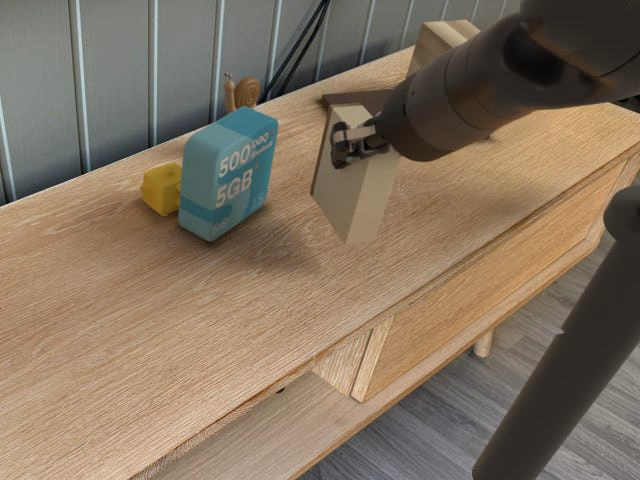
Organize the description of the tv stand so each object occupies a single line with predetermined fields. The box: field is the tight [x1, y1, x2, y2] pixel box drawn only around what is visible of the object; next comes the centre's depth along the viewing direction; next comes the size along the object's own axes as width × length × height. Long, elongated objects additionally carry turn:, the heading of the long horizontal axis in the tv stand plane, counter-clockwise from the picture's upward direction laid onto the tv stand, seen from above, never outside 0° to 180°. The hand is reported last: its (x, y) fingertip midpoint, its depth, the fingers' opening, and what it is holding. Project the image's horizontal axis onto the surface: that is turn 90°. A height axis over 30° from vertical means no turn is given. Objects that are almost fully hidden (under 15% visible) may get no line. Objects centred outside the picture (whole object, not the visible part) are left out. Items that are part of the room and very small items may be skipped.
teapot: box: [138, 161, 182, 217], centre depth 85 cm, size 8×6×5 cm
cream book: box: [309, 102, 402, 246], centre depth 76 cm, size 4×10×11 cm, turn 14°
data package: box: [177, 106, 280, 243], centre depth 82 cm, size 12×4×12 cm, turn 139°
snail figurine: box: [223, 71, 261, 115], centre depth 93 cm, size 5×6×12 cm
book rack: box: [320, 19, 491, 141], centre depth 101 cm, size 20×15×12 cm
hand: (354, 157), depth 75 cm, fingers closed on cream book, 3 cm apart
